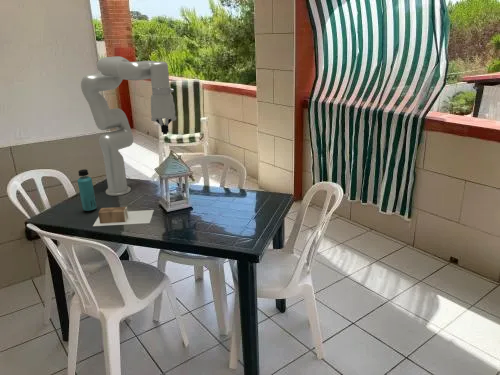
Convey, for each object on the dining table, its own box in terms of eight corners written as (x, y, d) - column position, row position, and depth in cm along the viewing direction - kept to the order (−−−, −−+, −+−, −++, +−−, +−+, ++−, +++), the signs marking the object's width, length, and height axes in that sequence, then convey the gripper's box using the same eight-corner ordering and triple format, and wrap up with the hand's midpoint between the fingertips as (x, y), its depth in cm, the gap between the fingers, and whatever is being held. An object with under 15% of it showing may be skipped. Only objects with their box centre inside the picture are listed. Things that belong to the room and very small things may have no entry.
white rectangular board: (101, 213, 186) (100, 212, 186) (154, 210, 188) (153, 209, 187) (92, 227, 173) (92, 226, 172) (149, 223, 174) (149, 222, 174)
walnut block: (128, 217, 181) (102, 218, 180) (126, 206, 179) (101, 208, 178) (125, 221, 176) (100, 223, 175) (124, 211, 174) (98, 212, 173)
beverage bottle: (92, 214, 185) (85, 172, 178) (79, 213, 187) (72, 172, 180) (100, 208, 191) (93, 168, 184) (87, 207, 193) (80, 167, 186)
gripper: (179, 90, 177) (182, 131, 184) (144, 91, 176) (149, 132, 183) (178, 92, 170) (181, 135, 177) (142, 93, 169) (146, 136, 176)
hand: (165, 133), depth 180 cm, fingers closed
